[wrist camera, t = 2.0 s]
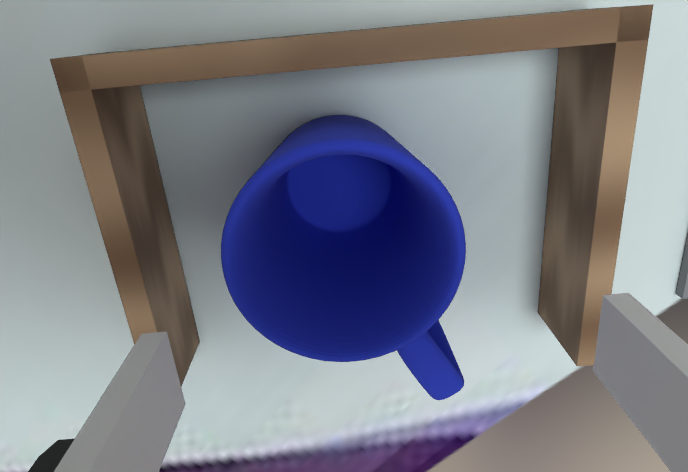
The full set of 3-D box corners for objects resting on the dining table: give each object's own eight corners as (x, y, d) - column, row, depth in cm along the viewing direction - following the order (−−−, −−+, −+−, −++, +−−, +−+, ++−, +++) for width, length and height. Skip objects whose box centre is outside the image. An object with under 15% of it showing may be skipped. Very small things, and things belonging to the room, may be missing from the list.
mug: (357, 324, 29) (369, 461, 20) (226, 158, 25) (166, 234, 16) (480, 252, 28) (556, 365, 18) (361, 62, 24) (382, 85, 14)
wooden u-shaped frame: (105, 52, 23) (50, 59, 18) (588, 9, 23) (653, 4, 18) (179, 343, 29) (151, 402, 25) (558, 310, 29) (601, 364, 25)
